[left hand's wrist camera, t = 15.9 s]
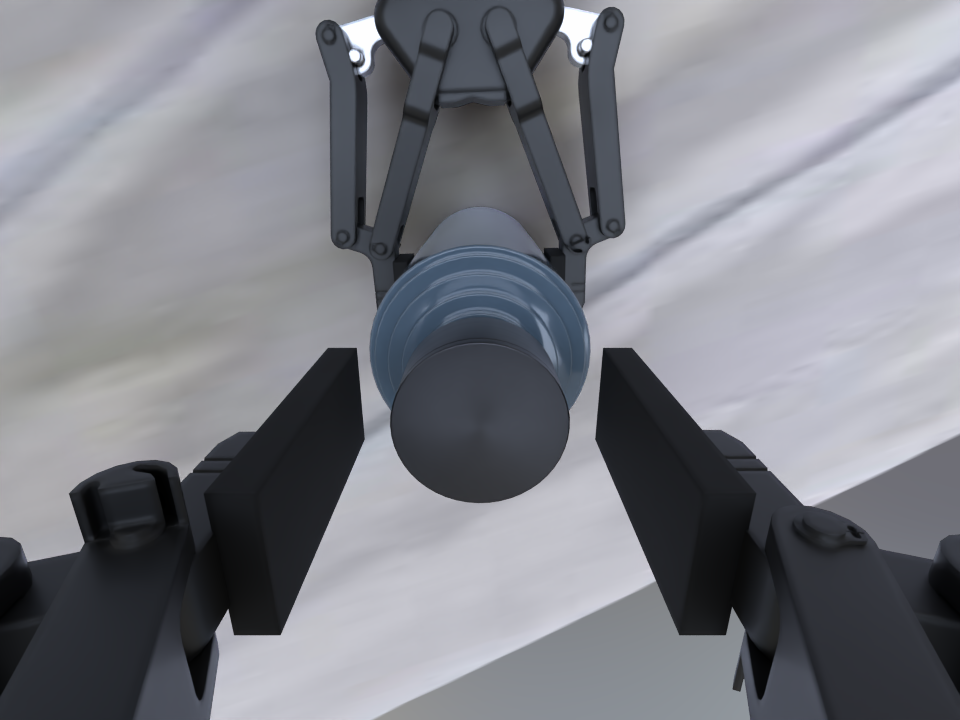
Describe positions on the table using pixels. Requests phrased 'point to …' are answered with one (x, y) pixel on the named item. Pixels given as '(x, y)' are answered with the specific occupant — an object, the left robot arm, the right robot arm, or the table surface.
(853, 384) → the table surface
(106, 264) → the table surface
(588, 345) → the bottle
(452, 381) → the cap
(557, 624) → the table surface
